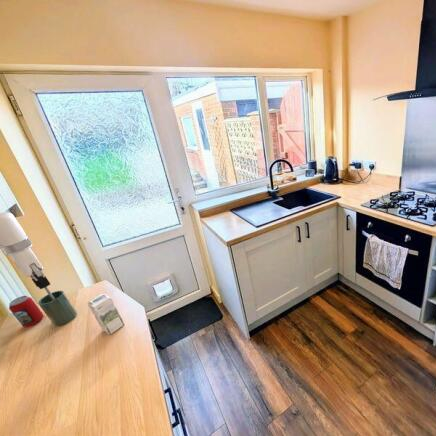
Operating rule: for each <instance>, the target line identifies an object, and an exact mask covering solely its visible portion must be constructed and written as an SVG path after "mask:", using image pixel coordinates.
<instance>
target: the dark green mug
mask: <svg viewBox="0 0 436 436" xmlns="http://www.w3.org/2000/svg"><path fill="white" fill-rule="evenodd" d="M51 294H52V295H53V297H54V298H55V300H52V299H51V297H50V296H49V294H48V293H47V294H46V295H44V296H43V297H41V299H40V300H39V301H38V303H37V304H38V305H39V308H41V309H42V311H43V312H44V314H45V315H46V316H47V318H48V319H49V321H50V322H51V324H52V325H53V326H54V327H62V326H64V325H65V326H66V325H67V324H69V323H70V322H72V321H74V319H75V318H76V317H77V316H78V312H77V310H76V309H75V307H74V305H73V304H72V302H71V301H70V299H69V298H68V296H67V295H66V293H65V291H63V290H56V291H52V292H51Z"/></svg>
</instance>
